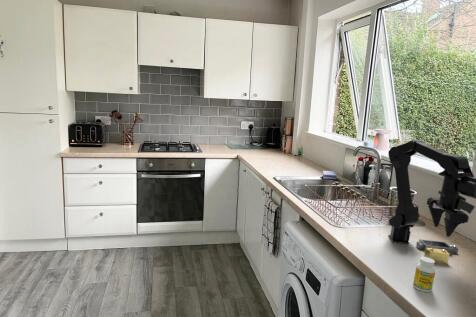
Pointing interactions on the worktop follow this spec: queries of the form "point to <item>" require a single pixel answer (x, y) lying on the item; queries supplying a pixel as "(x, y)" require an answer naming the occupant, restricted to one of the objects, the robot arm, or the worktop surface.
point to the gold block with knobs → (437, 255)
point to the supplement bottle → (424, 274)
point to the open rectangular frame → (436, 246)
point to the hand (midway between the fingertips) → (441, 231)
